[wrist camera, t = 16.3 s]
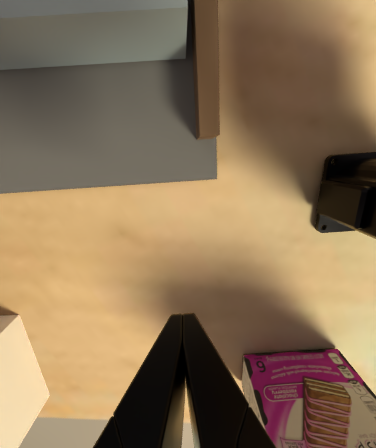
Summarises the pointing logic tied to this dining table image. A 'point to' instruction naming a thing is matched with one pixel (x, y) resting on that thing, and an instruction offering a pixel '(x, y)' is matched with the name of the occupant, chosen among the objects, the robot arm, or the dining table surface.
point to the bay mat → (102, 125)
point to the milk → (18, 383)
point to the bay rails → (205, 67)
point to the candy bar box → (310, 399)
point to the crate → (90, 32)
